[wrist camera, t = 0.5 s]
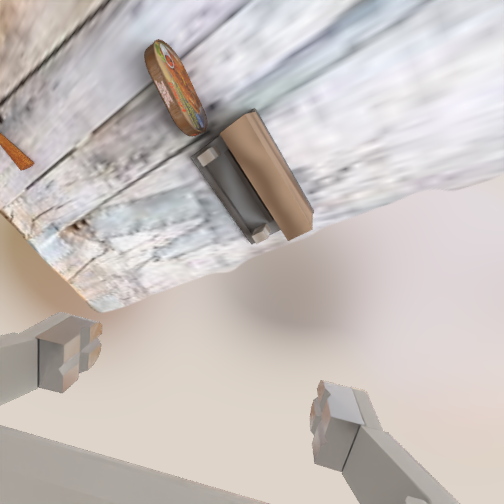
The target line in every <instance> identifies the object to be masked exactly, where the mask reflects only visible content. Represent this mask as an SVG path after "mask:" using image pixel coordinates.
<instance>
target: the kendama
mask: <svg viewBox="0 0 504 504" xmlns="http://www.w3.org/2000/svg"><path fill="white" fill-rule="evenodd" d="M0 145H1V146H2V147H3V149H4V150H5V151H6V152H7V154H8V155H9V156H10V157H11V159H12V160H13V161H14V163H15V164H16V165H17V166H18V168H19V169H20V170H25V169H27V168H29V167H31V166H32V165H33V164H34V163H33V162H32V161H31V160H30V159H29V158H28V157H27V156H26V155H25V154H23V153H22V152H21V151H20V150H19V149H18V148H17V147H16V146H15V145H13V144H12V143H11V142H10V141H9V140H8V139H7V138H6V137H5V136H3V135H2V134H1V133H0Z"/></svg>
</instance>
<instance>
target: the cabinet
mask: <svg viewBox="0 0 504 504" xmlns="http://www.w3.org/2000/svg"><path fill="white" fill-rule="evenodd" d="M191 158H192V160H193V161H194V163H195V164H196V166H197V167H198V168H199V170H200V171H201V173H202V174H203V176H204V177H205V178H206V180H207V181H208V183H209V184H210V186H211V187H212V188H213V190H214V191H215V193H216V194H217V196H218V197H219V199H220V200H221V201H222V203H223V204H224V206H225V207H226V209H227V210H228V211H229V213H230V214H231V216H232V217H233V219H234V220H235V221H236V223H237V224H238V226H239V227H240V229H241V230H242V231H243V233H244V234H245V236H246V237H247V239H248V240H249V241H250V243H251V244H253V243H255V242H256V244H257V243H259V242H261V241H263V240H265V239H267V238H268V237H269V235H271V234H273V233H275V232H277V231H279V230H281V231H282V232H283V234H284V235H285V237H286V238H287V240H288V241H289V240H291V239H293V238H295V237H298V236H300V235H302V234H304V233H306V232H308V231H310V230H312V219H313V213H314V210H313V208H312V207H311V205H310V203H309V201H308V200H307V198H306V196H305V194H304V193H303V191H302V189H301V187H300V186H299V184H298V182H297V180H296V179H295V177H294V175H293V173H292V172H291V170H290V168H289V166H288V165H287V163H286V161H285V159H284V158H283V156H282V154H281V152H280V151H279V149H278V147H277V145H276V144H275V142H274V140H273V138H272V137H271V135H270V133H269V131H268V130H267V128H266V126H265V124H264V123H263V121H262V119H261V117H260V116H259V114H258V112H257V110H256V109H253V110H252V111H251V112H250V113H248V114H244V115H243V116H242V117H240V118H239V119H238V120H236V121H235V122H234V123H233V124H231V125H230V126H229V127H227V128H226V129H225V130H224V131H222V132H221V133H220V136H218V137H217V138H216V139H214V140H213V141H212V142H210V143H209V144H208V145H206V146H205V147H204V148H203V149H201V150H200V151H199V152H197V153H196V154H195V155H193V156H192V157H191Z"/></svg>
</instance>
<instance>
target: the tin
mask: <svg viewBox="0 0 504 504" xmlns="http://www.w3.org/2000/svg"><path fill="white" fill-rule="evenodd" d="M144 58H145V63H146V66H147V69H148V72H149V74H150V76H151V78H152V80H153V82H154V84H155V86H156V88H157V89H158V91H159V93H160V95H161V97H162V99H163V101H164V103H165V105H166V107H167V109H168V111H169V113H170V115H171V117H172V118H173V120H174V122H175V123H176V125H177V126H178V127H179V128H180V130H181V131H182V132H184V133H185V134H186V135H188V136H196V135H198V134H200V133H203V132H205V131H206V129H207V118H206V115H205V112H204V109H203V107H202V105H201V103H200V100H199V98H198V96H197V94H196V92H195V90H194V88H193V85H192V83H191V81H190V79H189V77H188V74H187V72H186V70H185V68H184V66H183V64H182V62H181V60H180V59H179V57H178V56H177V54H176V53H175V52H174V50H173V49H172V48H171V47H170V46H169V45H168V44H167V43H165V42H164V41H162V40H159V39H158V40H156V41H155V42H154V43H153V44H152V45H150V46H149V47H148V48H147V49H146V51H145V55H144Z"/></svg>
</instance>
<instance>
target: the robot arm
mask: <svg viewBox="0 0 504 504" xmlns="http://www.w3.org/2000/svg"><path fill="white" fill-rule="evenodd" d="M101 334H102V324H101V323H99V322H96V321H93V320H89V319H86V318H82V317H79V316H74V315H71V314H68V313H63V312H59V313H56V314H55V315H53V316H51V317H49V318H47V319H46V320H43V321H41V322H40V323H38V324H36V325H34V326H32V327H30V328H29V329H27V330H25V331H23V332H21V333H19V334H18V333H11V334H6V335H1V336H0V405H2V404H5V403H7V402H9V401H11V400H13V399H16V398H18V397H20V396H22V395H25V394H27V393H29V392H31V391H33V390H36V389H37V388H38V387H39V388H43V389H48V390H51V391H55V392H59V393H63V392H64V391H66V390H67V389H68V388H69V387H70V386H71V385H72V384H73V383H74V382H75V381H77V380H78V377H79V373H81V372H84V371H87V370H88V369H89V368H91V367H92V366H93V365H94V363H95V362H96V360H97V358H98V357H99V353H100V351H101V343H100V341H99V339H98V337H99V336H100V335H101ZM317 392H318V397H317V398H316V399H314V400H313V404H312V407H311V413H310V429H311V432H312V433H313V434H314V439H313V442H312V446H313V455H314V462H315V464H317V465H321V466H324V467H327V468H330V469H333V470H337V471H340V472H342V475H343V476H344V478H345V480H346V482H347V483H348V485H349V486H350V488H351V490H352V491H353V493H354V495H355V496H356V498H357V500H358V501H359V503H360V504H460V503H459V502H458V501H457V500H456V499H455V498H454V497H453V496H452V495H451V494H450V493H449V492H448V491H447V490H446V489H445V488H444V487H443V486H442V485H441V484H440V483H439V482H438V481H437V480H436V479H435V478H434V477H432V475H431V474H430V473H429V472H428V471H427V470H425V468H424V467H423V466H422V465H421V464H419V463H418V462H417V461H416V460H415V459H414V458H413V457H412V456H411V455H410V454H409V453H408V452H407V451H406V450H405V449H404V448H403V447H402V446H401V445H400V444H399V443H398V442H397V441H396V440H395V439H394V438H393V437H392V436H391V435H390V434H389V433H388V432H384V431H383V429H382V427H381V425H380V422H379V420H378V418H377V415H376V413H375V410H374V408H373V406H372V403H371V401H370V399H369V396H368V394H367V392H366V391H365V390H362V389H357V388H353V387H347V386H343V385H339V384H334V383H331V382H327V381H323V380H321V381H320V383H319V385H318V388H317ZM0 504H269V503H265V502H262V501H259V500H255V499H252V498H248V497H245V496H242V495H238V494H235V493H231V492H228V491H225V490H221V489H218V488H214V487H211V486H208V485H204V484H201V483H197V482H194V481H191V480H187V479H184V478H180V477H177V476H173V475H170V474H166V473H163V472H160V471H156V470H153V469H149V468H146V467H142V466H139V465H136V464H132V463H129V462H125V461H122V460H118V459H115V458H111V457H108V456H105V455H101V454H97V453H94V452H91V451H87V450H84V449H80V448H77V447H74V446H70V445H66V444H63V443H59V442H57V441H53V440H49V439H46V438H43V437H39V436H36V435H33V434H29V433H26V432H22V431H18V430H15V429H12V428H8V427H5V426H1V425H0Z"/></svg>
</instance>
